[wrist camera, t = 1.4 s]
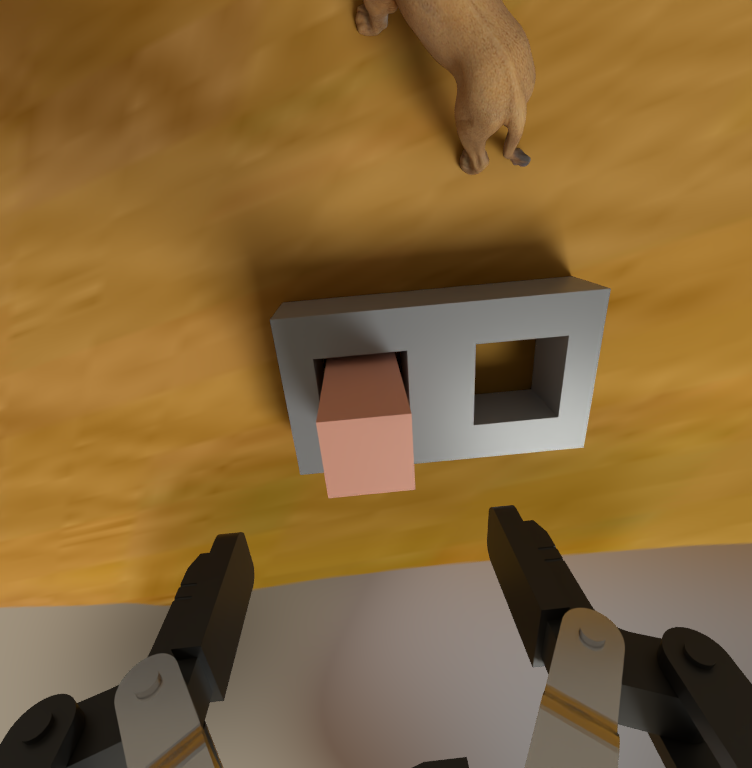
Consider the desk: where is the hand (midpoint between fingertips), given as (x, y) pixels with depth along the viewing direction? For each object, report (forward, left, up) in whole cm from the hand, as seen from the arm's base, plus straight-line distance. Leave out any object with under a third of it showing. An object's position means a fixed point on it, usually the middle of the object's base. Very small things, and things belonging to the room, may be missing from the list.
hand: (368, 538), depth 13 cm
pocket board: (-5, 0, -15) cm, 15 cm away
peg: (0, 0, -15) cm, 15 cm away
